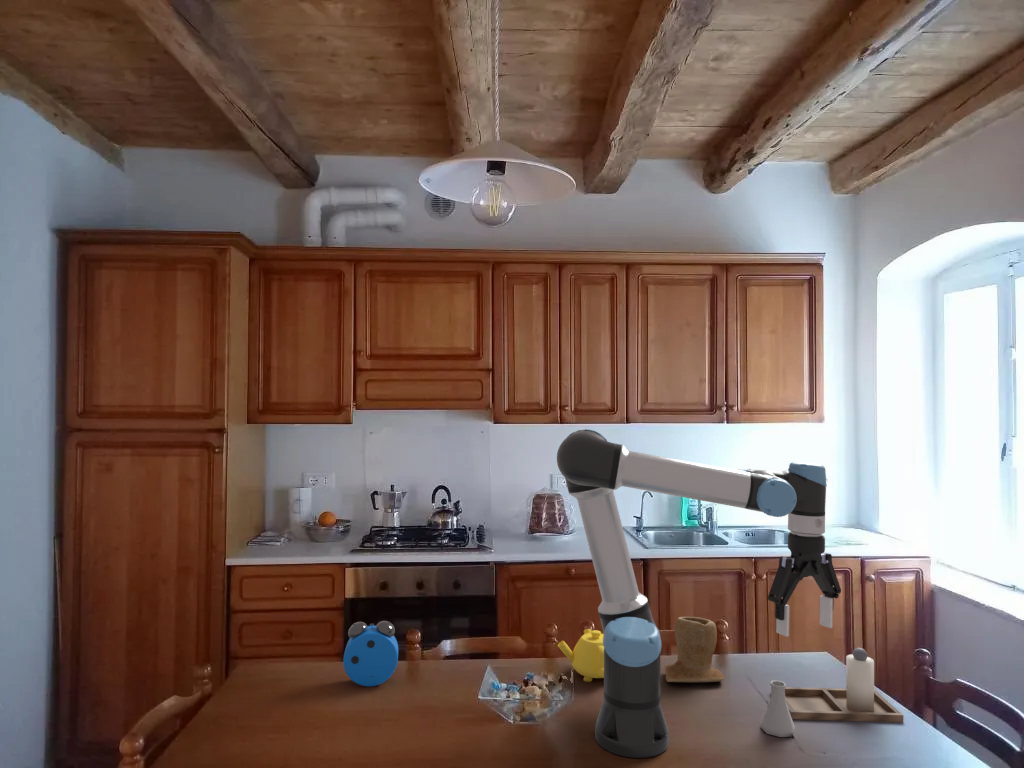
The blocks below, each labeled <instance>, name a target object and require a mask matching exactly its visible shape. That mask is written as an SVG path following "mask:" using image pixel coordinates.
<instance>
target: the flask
mask: <svg viewBox="0 0 1024 768" xmlns="http://www.w3.org/2000/svg"><path fill="white" fill-rule="evenodd" d="M770 686H771V687H772V693H770V700H769V703H768V706H767V709H766V711H765V714H764V717H763V719H762V721H761V725H760V728H761V729H762V730H763V731H764V732H765V733H766V734H767V735H770V736H771V735H772V736H774V737H775V736H776V737H779V738H790V737H793V738H794V733H795V730H796V726H795V723H794V721H793V720H794V719H792V718H791V715H790V712H789V709H788V706H787V703H786V698H785V687H787V684H786V683H785V682H784V681H781V680H771V681H770Z"/></svg>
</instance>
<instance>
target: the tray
mask: <svg viewBox="0 0 1024 768" xmlns="http://www.w3.org/2000/svg"><path fill="white" fill-rule="evenodd" d="M770 691H771V693H772V686H771V690H770ZM771 693H770V694H771ZM785 698H786V703H787V706H788V709H789V712H790V715H791V718H792V720H802V721H803V720H806V721H808V720H810V721H840V722H841V721H845V722H876V723H877V722H880V723H904V714H903V713H902V712H901V711H899V710H898V709H897V708H895V706H894V705H893V704H892V703H891V702H889V700H887V699H886V697H885V698H884V697H883V695H882V694H881V693H879V692H878V691H877V690H876V689H874V712H855V711H853V710H851V709H849V708H848V707H847V705H846V688H840V687H839V688H837V687H836V688H834V687H831V688H830V687H797V686H796V687H794V686H786V687H785Z"/></svg>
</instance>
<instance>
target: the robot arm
mask: <svg viewBox="0 0 1024 768" xmlns="http://www.w3.org/2000/svg"><path fill="white" fill-rule="evenodd" d="M556 463H557V467H558V470H559V471H560V474H561V475H562V477H564V480H565V484H566V487H567V490H568V494H569V495H570V496H572V497H573V498H575V499H576V500H577V501H576V502H577V504H578V509H579V512H580V516H581V520H582V524H583V528H584V532H585V536H586V540H587V545H588V547H589V552H590V556H591V560H592V564H593V568H594V571H595V572H594V573H595V576H596V580H597V585H598V588H599V593H600V596H601V602H600V604H599V605H598V607H597V612H598V616H599V619H600V620H599V621H600V624H601V627H602V628H601V629H602V633H603V634H604V636H603V646H604V678H603V700H602V703H601V706H600V710H599V712H598V716H597V719H596V722H595V726H594V737H595V741H596V743H597V744H598V745H599V746H600V747H601V748H603V749H604V750H606V751H607V752H609V753H612V754H615V755H618V756H620V757H626V758H636V759H641V758H651V757H657V756H659V755H661V754H662V753H664V752H665V751H666V750H667V749H668V748H669V745H670V731H669V728H668V724H667V722H666V718H665V715H664V712H663V708H662V705H661V651H662V638H661V633H660V631H659V628H658V627H657V625H656V622H655V620H654V619H653V615H652V612H651V611H652V610H651V608H650V604H649V600H648V598H647V596H646V595H644V594H642V593H641V592H640V591H639V587H638V583H637V579H636V576H635V575H636V574H635V572H634V567H633V564H632V560H631V556H630V551H629V548H628V543H627V540H626V535H625V532H624V528H623V524H622V519H621V516H620V511H619V508H618V505H617V500H616V497H615V493H614V491H615V490H619V488H621V487H624V488H630V489H635V490H642V491H647V492H653V493H657V494H665V495H669V496H675V497H680V498H686V499H692V500H697V501H703V502H708V503H713V504H719V505H724V506H729V507H734V508H741V509H745V510H750V511H755V512H761V513H763V514H765V515H767V516H770V517H774V518H781V517H785V516H787V529H788V531H789V532H788V533H787V549H788V550H789V551H790V557H786V556H783V555H782V556H780V557H779V559H778V568H777V571H776V573H775V576H774V579H773V581H772V584H771V587H770V589H769V592H768V596H767V600H768V601H769V602H773V603H774V604H775V606H774V607H775V608H774V609H775V610H774V612H775V614H774V617H775V619H776V624H775V625H776V627H775V631H776V634H779V635H781V636H783V637H789V636H790V605H789V604H788V602H789V600H790V598H791V596H792V595H793V593H794V591H795V589H796V588H797V586H798V584H799V582H800V581H802V580H803V579H804V578H808V577H812V578H813V579H814V582H815V583H816V584H817V586H818V588H819V590H820V591H821V593H822V594H821V595H819V625H820V626H823V627H826V628H827V629H828V628H829V629H833V615H834V613H833V612H834V606H835V605H834V604H835V601H834V599H838V598H839V596H840V595H839V594H841V593H842V588H841V586H840V582H839V580H838V577H837V573H836V571H835V568H834V565H833V558H832V557H833V555H832V554H831V553H828V552H825V551H826V537H825V535H824V534H825V533H826V501H827V500H826V499H827V495H826V494H827V487H828V485H827V473H826V467H825V466H824V465H823V464H821V463H817V462H807V461H792V462H790V463H789V465H788V469H787V470H766V469H765V470H764V469H763V470H762V469H751V468H748V469H732V468H728V467H727V468H726V467H721V466H715V465H709V464H704V463H698V462H695V461H694V462H692V461H688V460H683V459H677V458H676V459H675V458H671V457H667V456H666V457H665V456H660V455H655V454H648V453H643V452H637V451H632V450H628V449H627V448H626V447H625V445H624V444H619V443H614V442H610V441H609V440H607V438H606V437H605V436H603V434H601V433H600V432H598V431H595V430H592V429H587V428H585V429H578V430H576V431H573V432H572V433H570V434H568V435H567V437H566V438H564V439H563V441H562V442H561V443H560V445H559V447H558V450H557V453H556Z"/></svg>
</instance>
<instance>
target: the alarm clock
mask: <svg viewBox="0 0 1024 768" xmlns="http://www.w3.org/2000/svg"><path fill="white" fill-rule="evenodd" d="M395 633H396V629H395V626H394V624H392V623H391V622H390V621H387V620H382V621H379V622H378V623H377V624H376V625H375V623H370V624H369V625H367V623H365V622H363V621H357V622H353V624H352V625H351V626H350V627H349V629H348V632H347V636H348V638H349V639H348V641H347V643H346V645H345V646H346V647H345V650H344V653H343V660H342V661H343V663H342V664H343V668H344V671H345V673H346V675H347V676H348V678H349V679H350V680H351V681H352V682H353V683H354V684H355V683H356V684H357V685H359V686H362V687H376V686H379V685H381V684H383V683H385V682H387V681H388V679H390V678H391V676H393V674H394V672H395V671H396V670H397V669H396V668H397V667H398V663H399V659H398V658H399V644H398V641H397V638H396V637H395Z"/></svg>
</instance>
